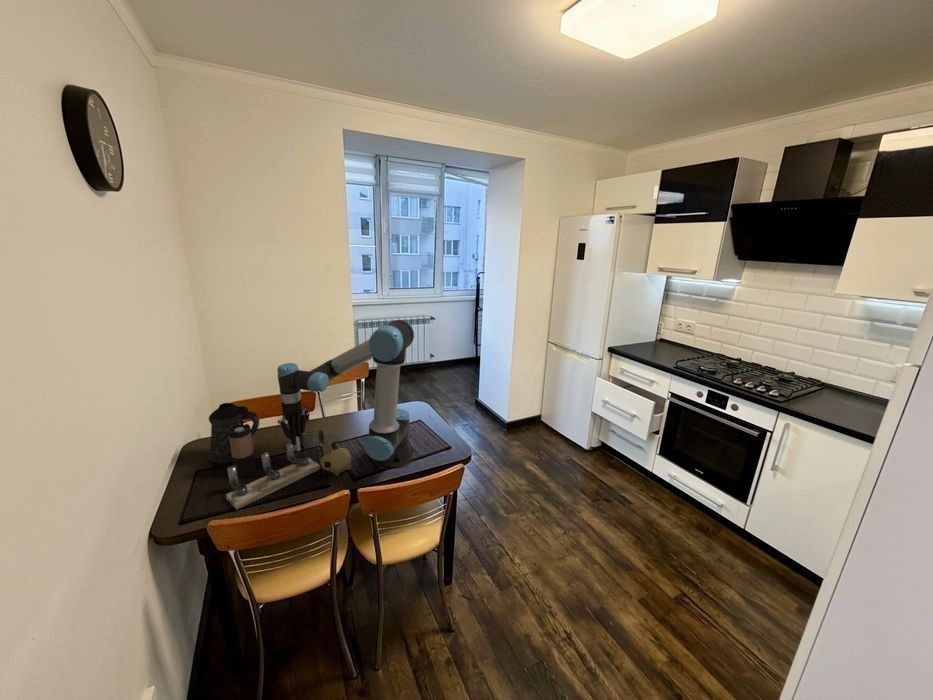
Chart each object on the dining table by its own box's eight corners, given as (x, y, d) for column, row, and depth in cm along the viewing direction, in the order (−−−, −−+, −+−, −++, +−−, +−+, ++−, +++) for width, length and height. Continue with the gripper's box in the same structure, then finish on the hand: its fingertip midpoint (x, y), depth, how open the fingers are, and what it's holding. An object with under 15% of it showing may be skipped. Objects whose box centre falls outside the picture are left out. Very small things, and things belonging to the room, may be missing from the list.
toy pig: (318, 470, 152) (316, 448, 149) (347, 461, 158) (346, 440, 155) (325, 483, 144) (323, 459, 141) (354, 473, 151) (353, 451, 148)
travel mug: (241, 479, 144) (233, 434, 138) (231, 472, 148) (223, 429, 142) (260, 470, 150) (254, 427, 145) (250, 463, 154) (243, 421, 148)
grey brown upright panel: (298, 450, 166) (296, 432, 163) (298, 447, 168) (296, 428, 166) (325, 446, 170) (323, 427, 168) (324, 443, 173) (323, 424, 170)
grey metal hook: (281, 477, 143) (279, 460, 140) (273, 481, 140) (271, 464, 138) (269, 467, 148) (267, 451, 146) (261, 471, 146) (259, 454, 144)
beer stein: (204, 456, 158) (194, 404, 151) (253, 440, 172) (246, 392, 164) (215, 473, 147) (205, 418, 140) (266, 454, 161) (259, 403, 154)
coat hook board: (319, 469, 153) (319, 463, 152) (236, 509, 128) (235, 503, 127) (308, 460, 158) (307, 455, 157) (226, 498, 133) (225, 492, 133)
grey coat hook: (310, 462, 152) (308, 447, 150) (305, 467, 150) (303, 451, 147) (291, 457, 155) (289, 442, 153) (285, 461, 152) (283, 446, 150)
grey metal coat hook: (249, 492, 133) (246, 475, 131) (239, 497, 131) (236, 479, 129) (237, 481, 139) (234, 464, 137) (228, 485, 137) (225, 468, 135)
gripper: (299, 392, 155) (304, 440, 163) (271, 403, 145) (278, 454, 152) (310, 397, 152) (315, 445, 159) (282, 408, 141) (289, 460, 149)
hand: (297, 449), depth 156 cm, fingers closed
